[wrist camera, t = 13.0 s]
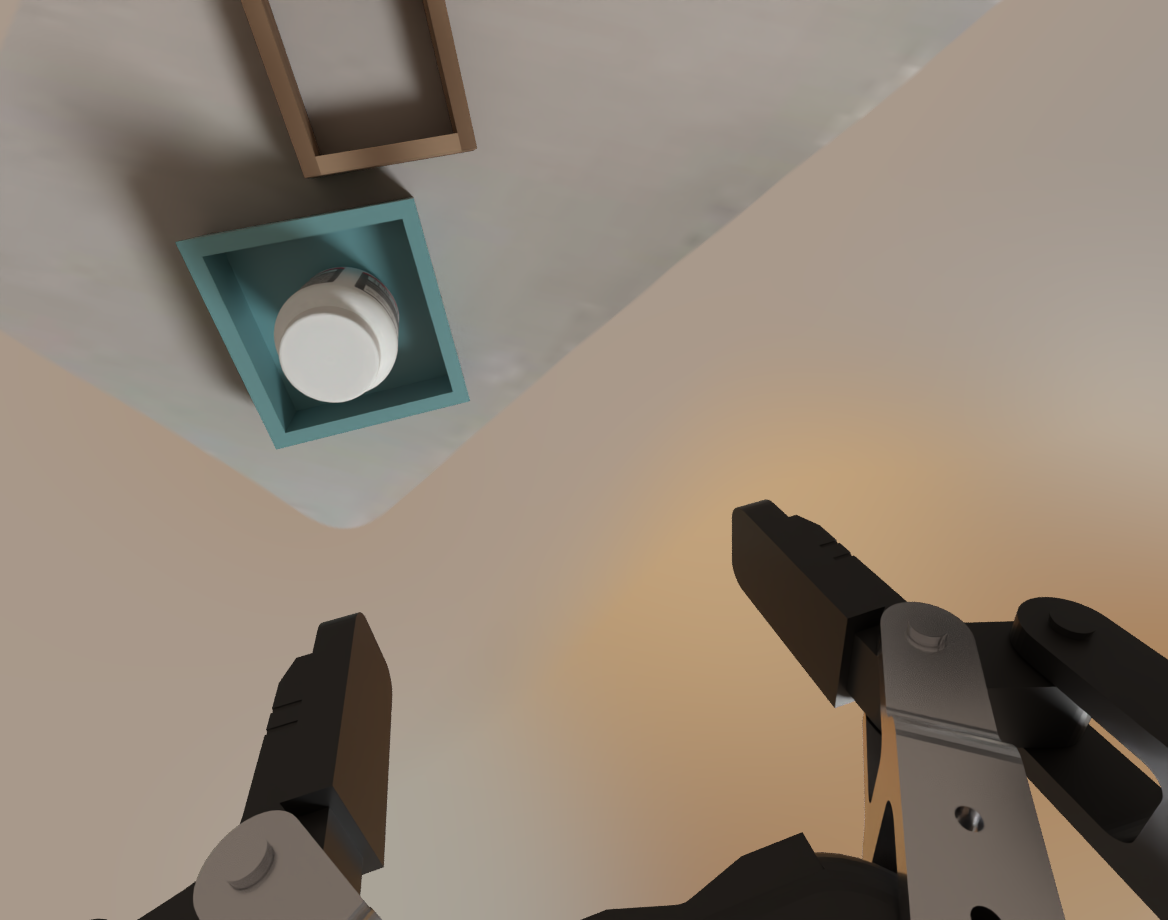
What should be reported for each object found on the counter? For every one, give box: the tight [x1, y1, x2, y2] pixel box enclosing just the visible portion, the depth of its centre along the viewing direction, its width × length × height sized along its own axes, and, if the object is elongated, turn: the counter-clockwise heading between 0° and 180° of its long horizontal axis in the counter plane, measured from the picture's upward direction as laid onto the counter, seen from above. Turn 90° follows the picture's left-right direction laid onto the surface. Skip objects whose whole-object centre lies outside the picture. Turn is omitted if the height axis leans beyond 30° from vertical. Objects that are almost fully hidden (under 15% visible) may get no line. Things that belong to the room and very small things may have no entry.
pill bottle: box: [274, 267, 399, 403], centre depth 28 cm, size 5×5×10 cm
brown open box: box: [241, 0, 477, 178], centre depth 27 cm, size 9×9×2 cm
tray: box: [175, 197, 470, 449], centre depth 31 cm, size 11×11×4 cm
